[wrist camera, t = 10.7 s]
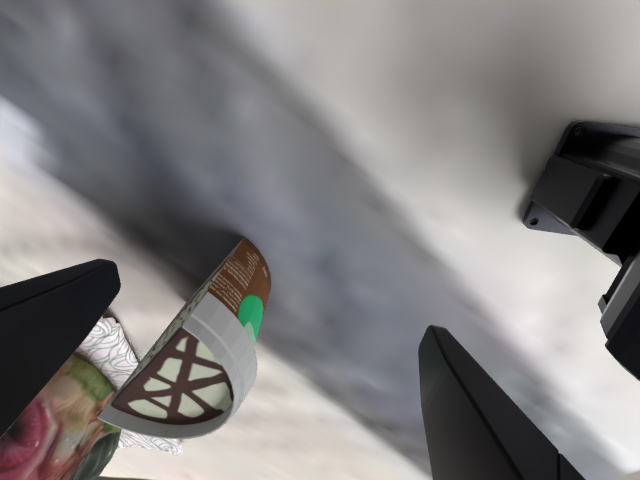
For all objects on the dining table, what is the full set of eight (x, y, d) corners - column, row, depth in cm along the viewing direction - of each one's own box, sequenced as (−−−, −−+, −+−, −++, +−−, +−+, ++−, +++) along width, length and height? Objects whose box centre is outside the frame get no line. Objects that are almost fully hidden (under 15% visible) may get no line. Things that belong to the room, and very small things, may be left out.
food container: (233, 347, 29) (178, 465, 20) (178, 311, 27) (93, 421, 19) (317, 273, 24) (293, 389, 15) (255, 223, 22) (187, 319, 13)
